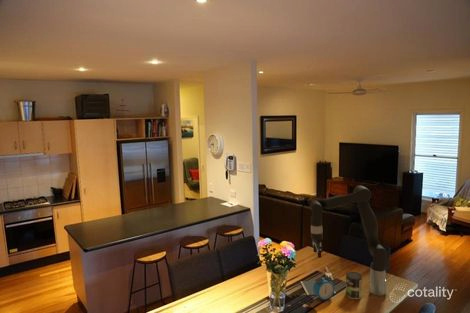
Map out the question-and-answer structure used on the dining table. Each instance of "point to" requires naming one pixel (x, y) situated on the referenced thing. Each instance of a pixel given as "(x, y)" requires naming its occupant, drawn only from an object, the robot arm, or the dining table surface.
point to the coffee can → (354, 285)
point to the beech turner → (328, 273)
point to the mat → (309, 287)
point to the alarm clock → (324, 287)
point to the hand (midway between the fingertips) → (317, 254)
